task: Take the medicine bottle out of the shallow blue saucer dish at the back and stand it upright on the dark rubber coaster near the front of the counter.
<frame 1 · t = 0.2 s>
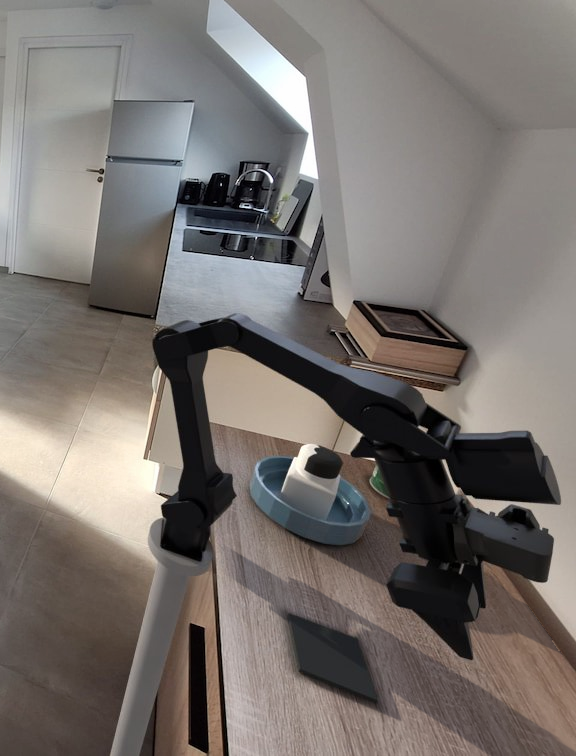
hand: (473, 631, 50), 13 cm above the sideboard, tool tilted 30°, fingers open, 9 cm apart
coaster: (328, 656, 59), on the sideboard
medicine bottle: (302, 506, 83), point 1 cm above the sideboard, touching blue saucer dish
canned tomato: (394, 491, 89), on the sideboard
blue saucer dish: (301, 508, 84), on the sideboard
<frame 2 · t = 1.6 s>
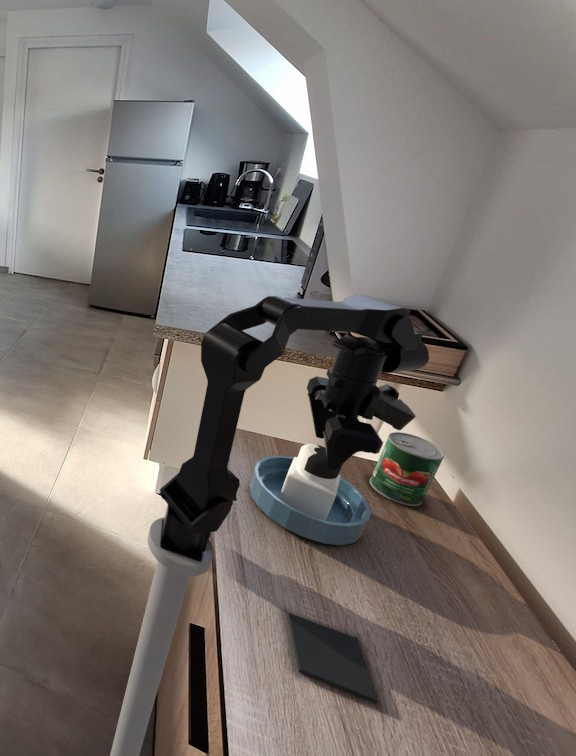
hand: (325, 452, 79), 13 cm above the sideboard, tool pointing down, fingers open, 9 cm apart
nothing on the sideboard moved.
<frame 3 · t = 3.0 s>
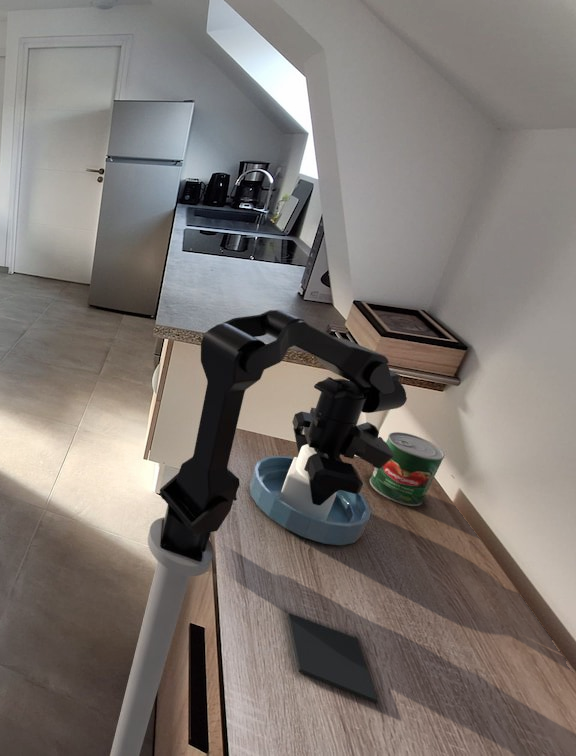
hand: (310, 486, 82), 5 cm above the sideboard, tool pointing down
medicine bottle: (302, 506, 83), point 1 cm above the sideboard, touching blue saucer dish, gripper
everything else where it was.
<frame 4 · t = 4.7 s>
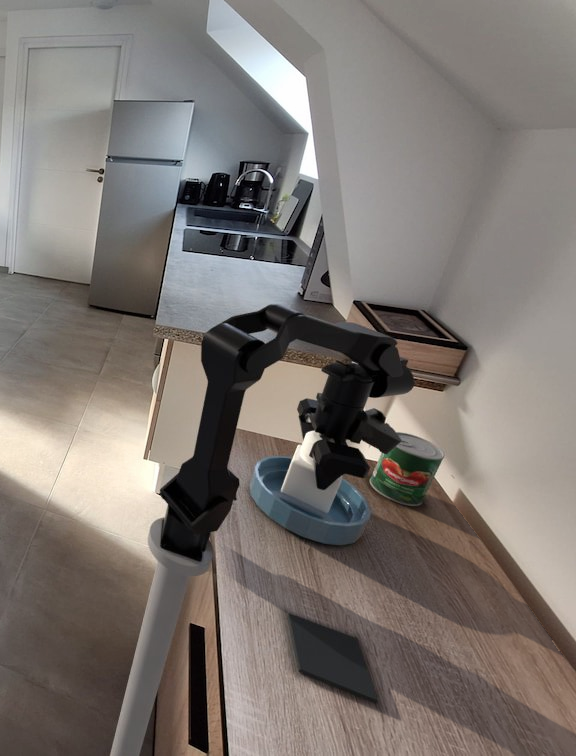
hand: (314, 473, 81), 8 cm above the sideboard, tool pointing down, fingers closed on medicine bottle, 8 cm apart
medicine bottle: (305, 494, 82), point 3 cm above the sideboard, touching gripper
everything else where it was.
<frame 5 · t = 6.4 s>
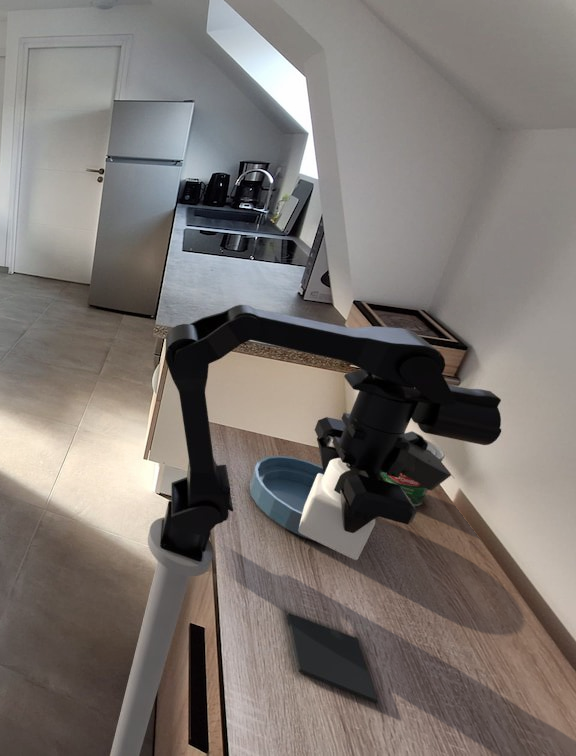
hand: (339, 510, 66), 13 cm above the sideboard, tool pointing down, fingers closed on medicine bottle, 8 cm apart
medicine bottle: (328, 533, 68), point 8 cm above the sideboard, touching gripper
everything else where it was.
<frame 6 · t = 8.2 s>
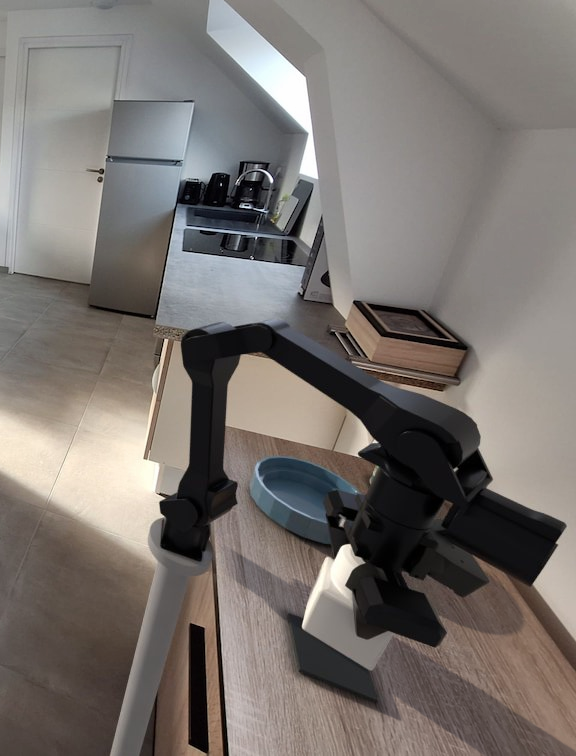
hand: (350, 605, 56), 9 cm above the sideboard, tool pointing down, fingers closed on medicine bottle, 8 cm apart
medicine bottle: (337, 630, 58), point 5 cm above the sideboard, touching gripper
everything else where it was.
when the fingers open (5 cm above the sideboard, at t = 9.9 s): medicine bottle stays where it is, resting on coaster.
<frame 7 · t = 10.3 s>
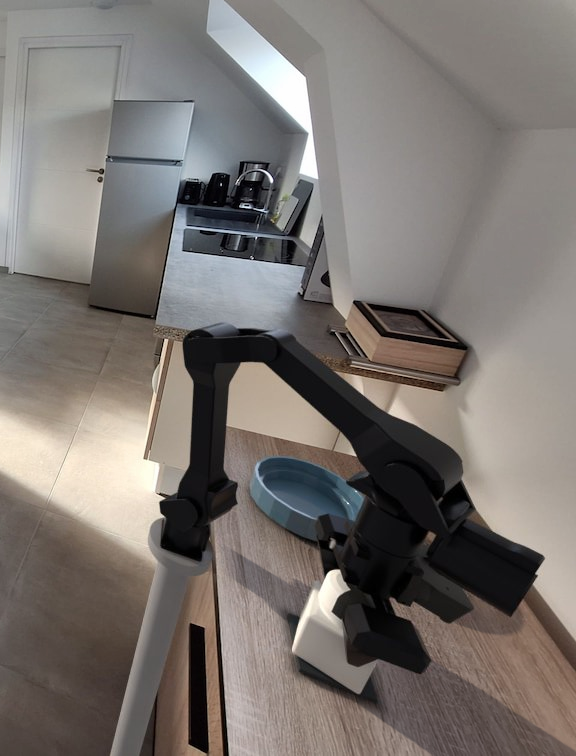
hand: (341, 628, 58), 5 cm above the sideboard, tool pointing down, fingers open, 9 cm apart
medicine bottle: (327, 653, 59), resting on coaster
everything else where it was.
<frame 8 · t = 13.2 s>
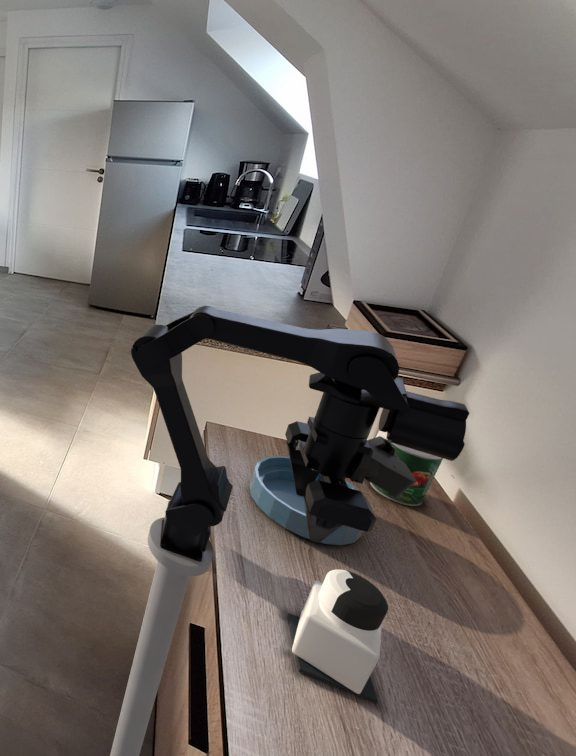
hand: (306, 516, 65), 13 cm above the sideboard, tool pointing down, fingers open, 9 cm apart
nothing on the sideboard moved.
at the end: medicine bottle 0.2 cm off-centre on the coaster, point 0.4 cm above the coaster's base; medicine bottle tilted 0°; medicine bottle touching coaster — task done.
